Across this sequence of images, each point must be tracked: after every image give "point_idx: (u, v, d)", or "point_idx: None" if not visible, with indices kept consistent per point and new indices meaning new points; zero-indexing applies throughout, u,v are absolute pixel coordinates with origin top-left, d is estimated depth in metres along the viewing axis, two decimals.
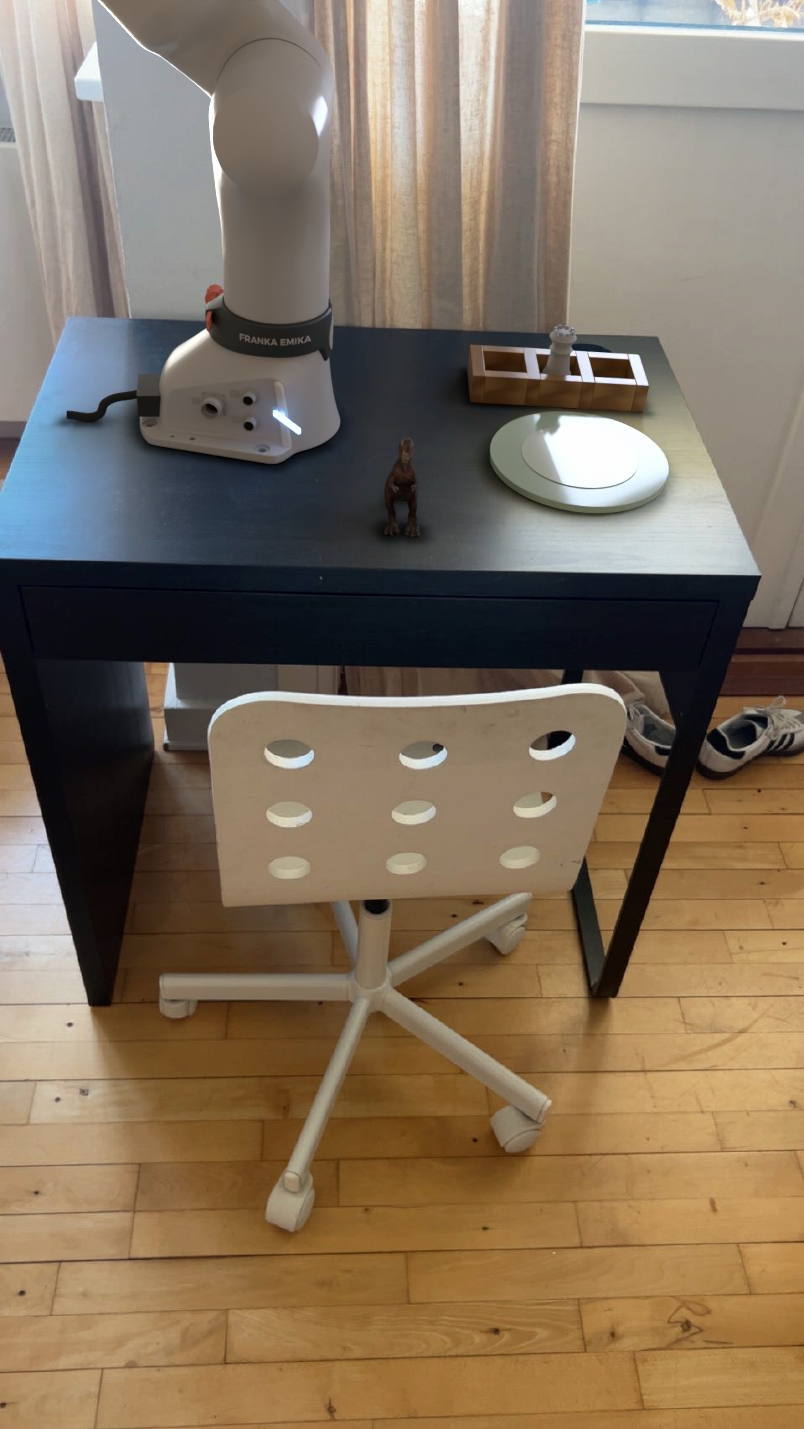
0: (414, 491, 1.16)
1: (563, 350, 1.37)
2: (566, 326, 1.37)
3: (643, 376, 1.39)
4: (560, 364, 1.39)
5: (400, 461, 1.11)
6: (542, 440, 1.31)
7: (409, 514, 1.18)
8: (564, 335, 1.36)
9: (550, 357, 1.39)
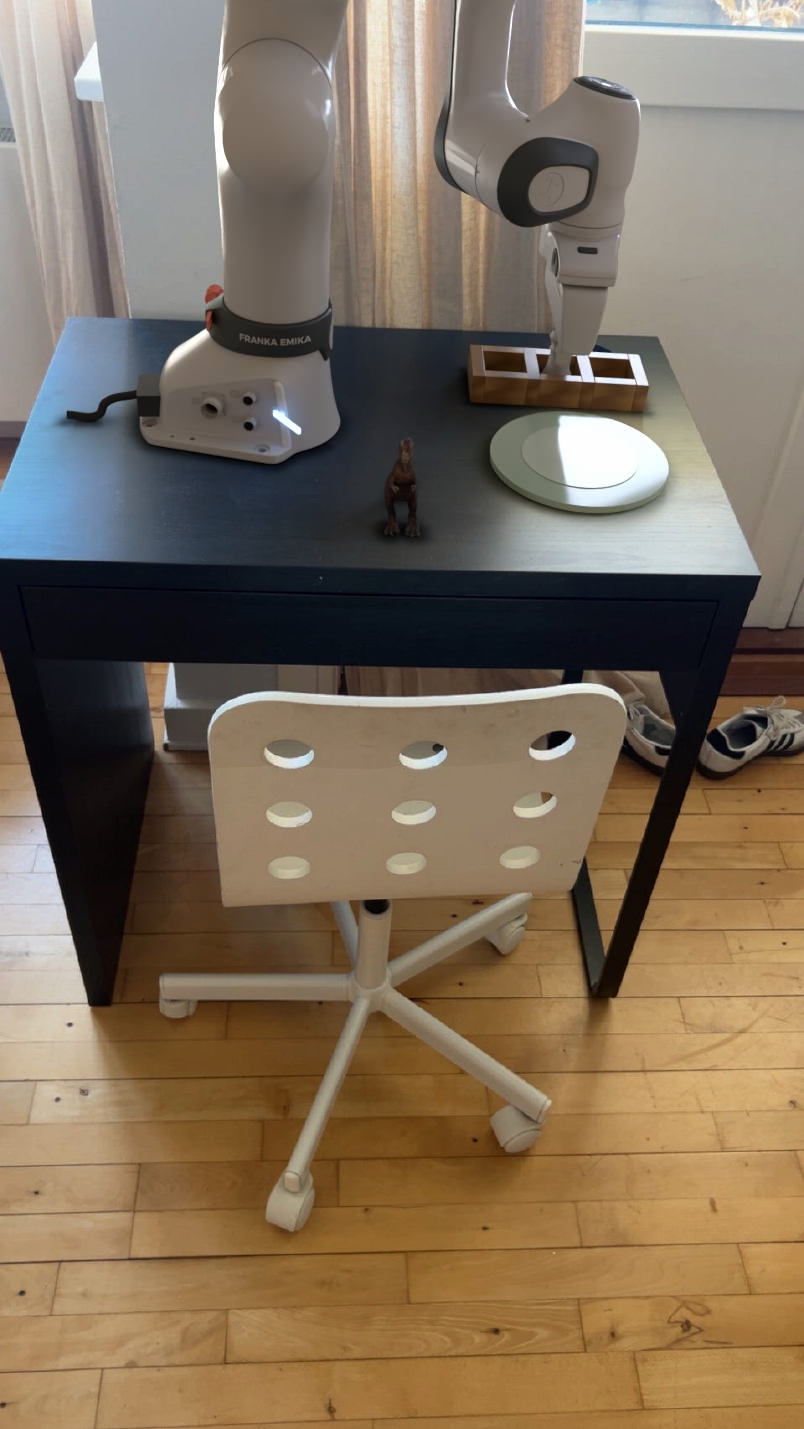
0: (414, 491, 1.16)
1: None
2: None
3: (643, 376, 1.39)
4: None
5: (400, 461, 1.11)
6: (542, 440, 1.31)
7: (409, 514, 1.18)
8: None
9: (550, 357, 1.39)
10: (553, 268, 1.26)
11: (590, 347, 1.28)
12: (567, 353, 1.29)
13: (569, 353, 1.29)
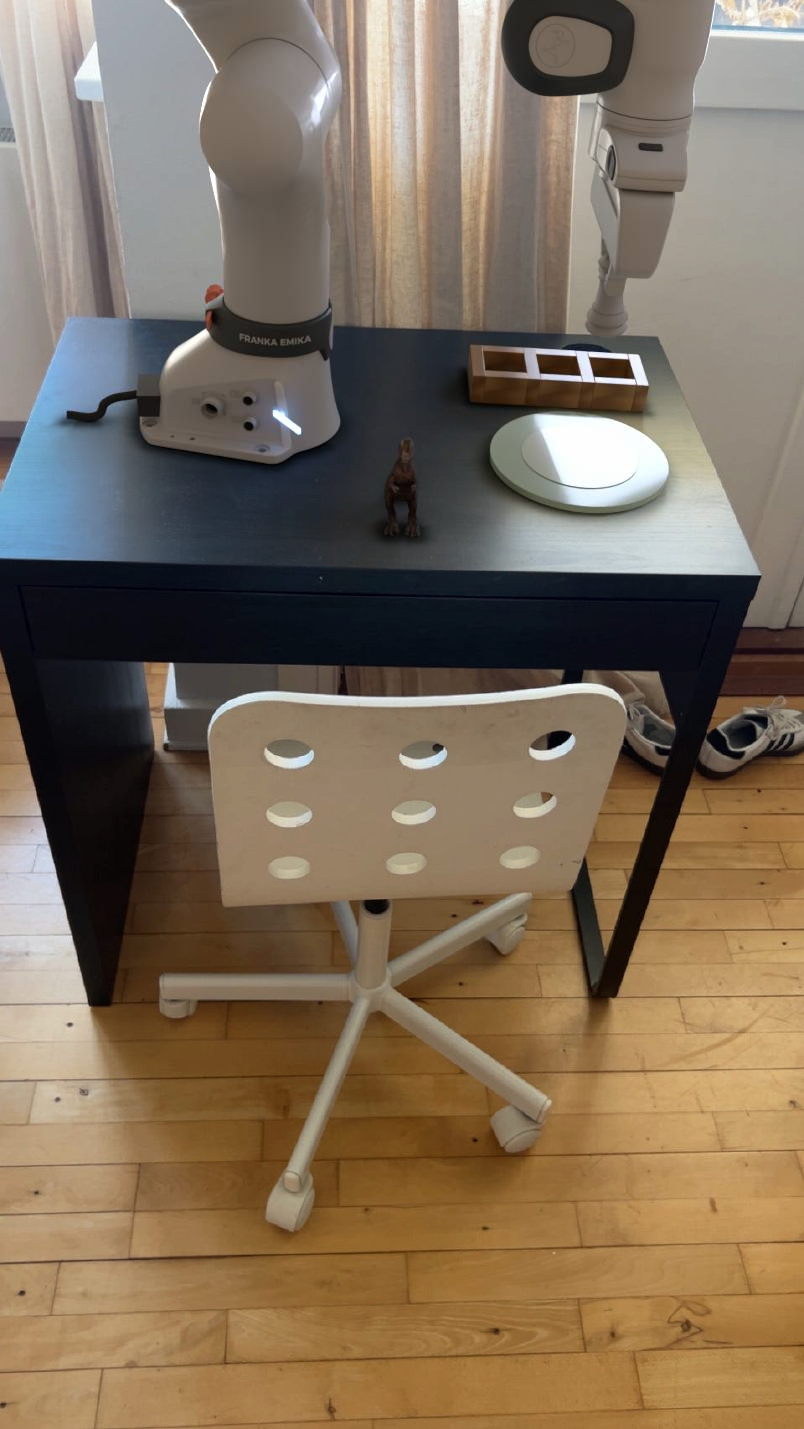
0: (414, 491, 1.16)
1: None
2: None
3: (643, 376, 1.39)
4: (613, 296, 1.16)
5: (400, 461, 1.11)
6: (542, 440, 1.31)
7: (409, 514, 1.18)
8: None
9: (600, 288, 1.17)
10: (608, 170, 1.04)
11: (652, 267, 1.06)
12: (624, 275, 1.06)
13: (626, 275, 1.06)
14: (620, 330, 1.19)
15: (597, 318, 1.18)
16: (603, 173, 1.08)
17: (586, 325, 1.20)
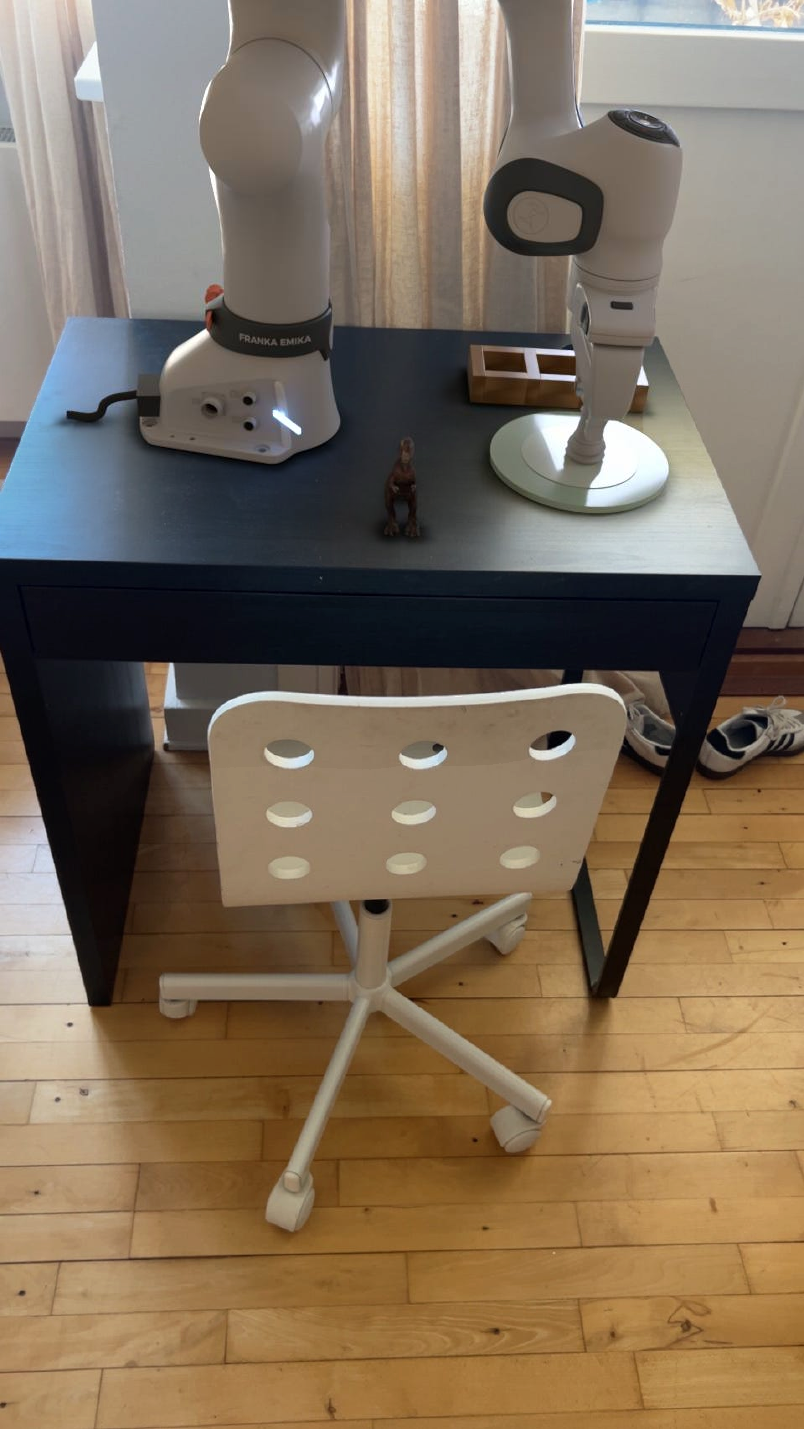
0: (414, 491, 1.16)
1: None
2: None
3: (643, 376, 1.39)
4: None
5: (400, 461, 1.11)
6: (542, 440, 1.31)
7: (409, 514, 1.18)
8: None
9: (581, 420, 1.26)
10: (583, 324, 1.13)
11: (623, 412, 1.14)
12: (598, 418, 1.15)
13: (600, 418, 1.15)
14: (598, 458, 1.28)
15: (577, 447, 1.27)
16: None
17: (567, 451, 1.28)
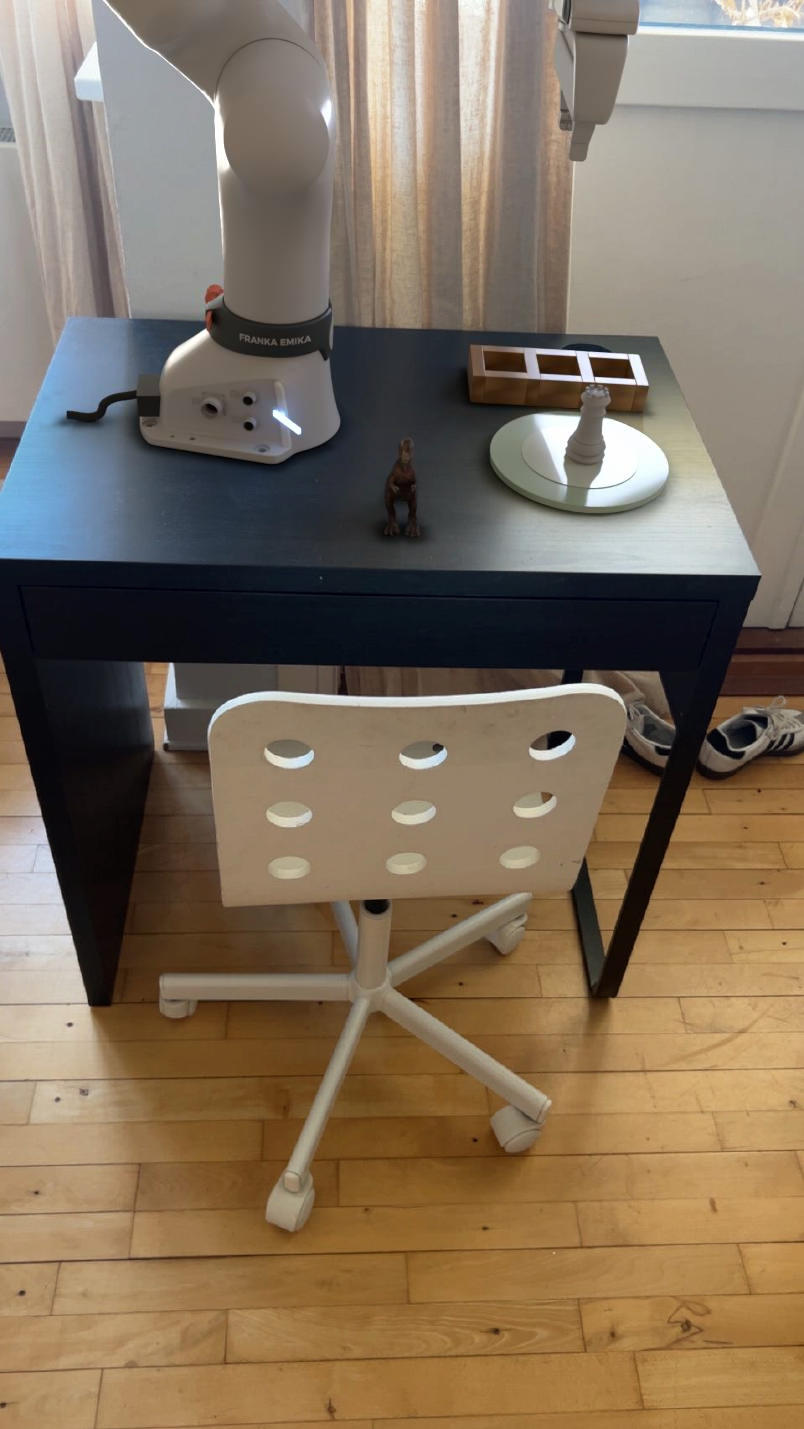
0: (414, 491, 1.16)
1: (596, 412, 1.24)
2: (599, 386, 1.24)
3: (643, 376, 1.39)
4: (593, 428, 1.26)
5: (400, 461, 1.11)
6: (542, 440, 1.31)
7: (409, 514, 1.18)
8: (597, 397, 1.23)
9: (581, 420, 1.26)
10: (564, 16, 1.08)
11: (608, 112, 1.09)
12: (581, 121, 1.10)
13: (583, 121, 1.10)
14: (598, 458, 1.28)
15: (577, 447, 1.27)
16: (561, 24, 1.12)
17: (567, 451, 1.28)
